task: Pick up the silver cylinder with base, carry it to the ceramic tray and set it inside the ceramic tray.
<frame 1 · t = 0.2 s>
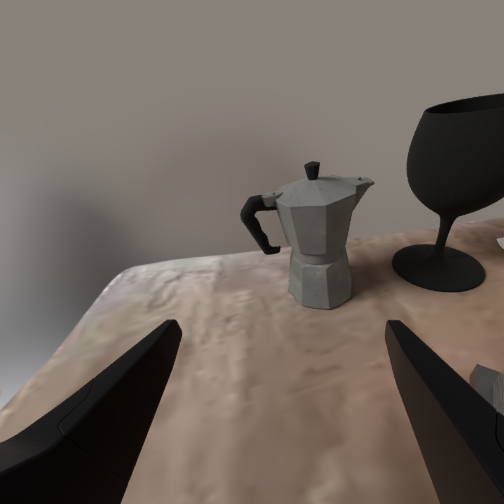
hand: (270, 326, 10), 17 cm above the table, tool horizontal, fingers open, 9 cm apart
wine glass: (433, 267, 33), on the table
coffeepot: (312, 289, 35), on the table
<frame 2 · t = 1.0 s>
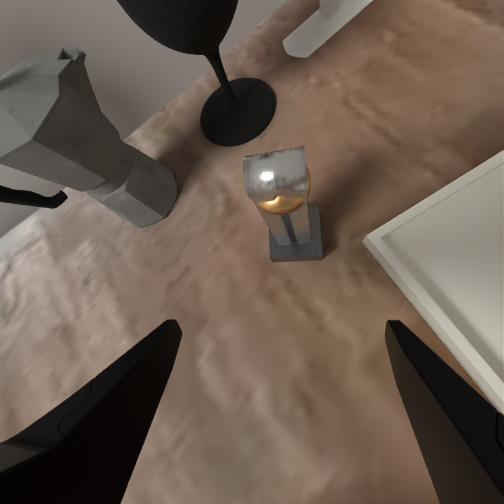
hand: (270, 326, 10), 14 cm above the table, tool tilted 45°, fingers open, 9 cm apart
wine glass: (237, 113, 31), on the table
coffeepot: (144, 202, 32), on the table
silver cylinder with base: (296, 238, 25), on the table
heart sculpture: (329, 20, 30), on the table
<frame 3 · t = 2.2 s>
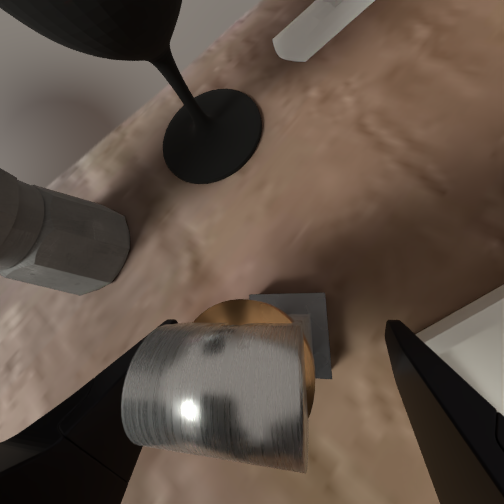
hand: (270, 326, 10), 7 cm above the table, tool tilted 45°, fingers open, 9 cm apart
wine glass: (211, 137, 23), on the table
coffeepot: (88, 256, 24), on the table
silver cylinder with base: (290, 330, 17), on the table
heart sculpture: (335, 10, 22), on the table
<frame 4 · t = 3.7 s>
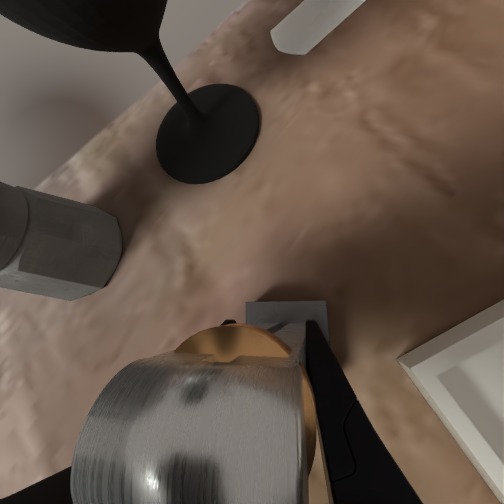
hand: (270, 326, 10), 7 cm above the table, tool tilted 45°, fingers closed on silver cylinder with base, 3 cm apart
wine glass: (206, 135, 22), on the table
coffeepot: (79, 259, 23), on the table
silver cylinder with base: (289, 339, 16), on the table, touching gripper
heart sculpture: (336, 0, 21), on the table
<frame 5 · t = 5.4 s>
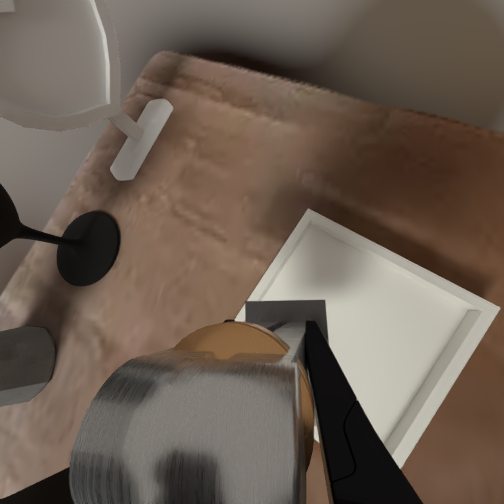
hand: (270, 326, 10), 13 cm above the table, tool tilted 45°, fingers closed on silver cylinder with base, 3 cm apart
ceramic tray: (337, 328, 21), on the table
wine glass: (90, 248, 32), on the table
coffeepot: (27, 368, 30), on the table
silver cylinder with base: (289, 338, 16), point 7 cm above the table, touching gripper
heart sculpture: (142, 139, 33), on the table
when the fingers open (9 cm above the table, at t = 7.4 s): silver cylinder with base drops 1 cm, resting on ceramic tray.
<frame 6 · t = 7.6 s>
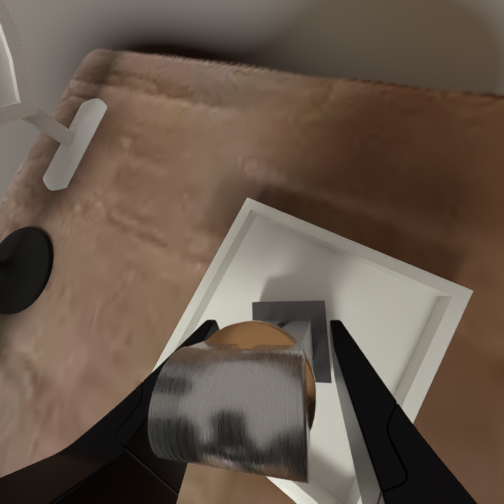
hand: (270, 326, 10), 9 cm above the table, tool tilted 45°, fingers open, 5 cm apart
ceramic tray: (293, 335, 18), on the table
wine glass: (21, 269, 28), on the table
silver cylinder with base: (291, 335, 17), point 1 cm above the table, touching ceramic tray
heart sculpture: (76, 144, 30), on the table
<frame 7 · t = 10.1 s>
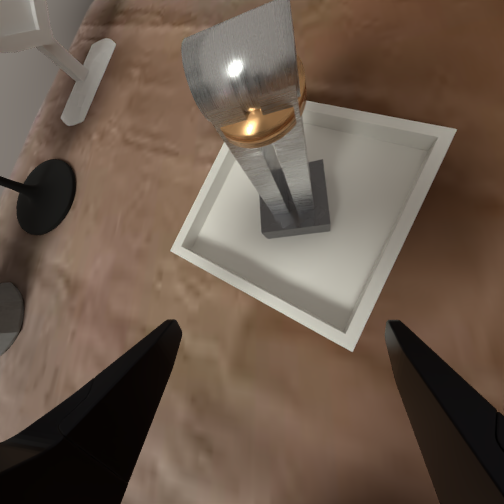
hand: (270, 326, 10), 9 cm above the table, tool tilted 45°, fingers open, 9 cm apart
ceramic tray: (296, 208, 20), on the table
wine glass: (48, 197, 31), on the table
silver cylinder with base: (295, 206, 19), point 1 cm above the table, touching ceramic tray
heart sculpture: (89, 82, 32), on the table
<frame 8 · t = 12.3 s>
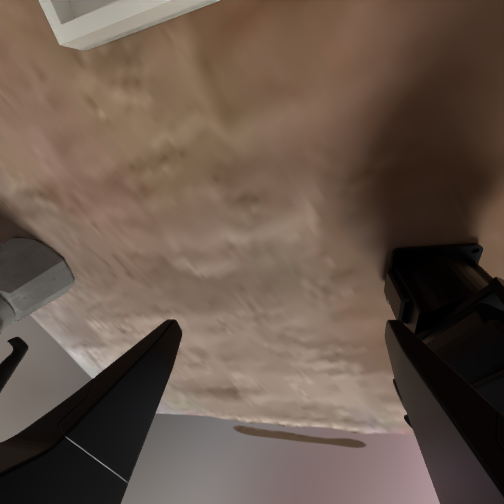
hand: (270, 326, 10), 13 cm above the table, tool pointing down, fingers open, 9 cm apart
coffeepot: (50, 271, 32), on the table
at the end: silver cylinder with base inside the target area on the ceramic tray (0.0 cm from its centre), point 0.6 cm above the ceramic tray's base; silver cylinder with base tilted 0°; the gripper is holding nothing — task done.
